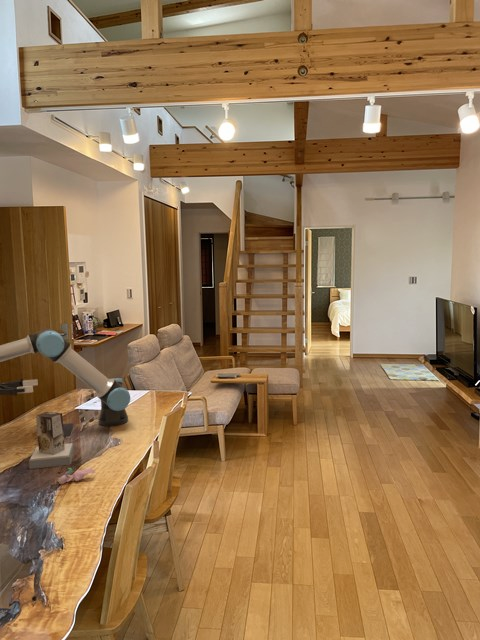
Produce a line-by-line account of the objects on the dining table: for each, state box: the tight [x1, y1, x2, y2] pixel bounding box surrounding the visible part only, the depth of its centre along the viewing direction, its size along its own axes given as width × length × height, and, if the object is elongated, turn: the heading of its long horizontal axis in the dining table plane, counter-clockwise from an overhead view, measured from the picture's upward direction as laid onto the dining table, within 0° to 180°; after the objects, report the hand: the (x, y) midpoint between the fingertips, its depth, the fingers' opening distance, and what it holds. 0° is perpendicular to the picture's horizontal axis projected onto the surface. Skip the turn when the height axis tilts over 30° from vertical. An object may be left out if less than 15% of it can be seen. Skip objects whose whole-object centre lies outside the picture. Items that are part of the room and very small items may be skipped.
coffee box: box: [35, 411, 65, 454], centre depth 217 cm, size 9×6×16 cm
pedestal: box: [28, 442, 75, 470], centre depth 218 cm, size 16×16×4 cm
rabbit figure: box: [54, 467, 96, 485], centre depth 196 cm, size 6×6×15 cm
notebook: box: [63, 422, 75, 440], centre depth 255 cm, size 13×2×21 cm
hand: (35, 385), depth 234 cm, fingers open, 13 cm apart
